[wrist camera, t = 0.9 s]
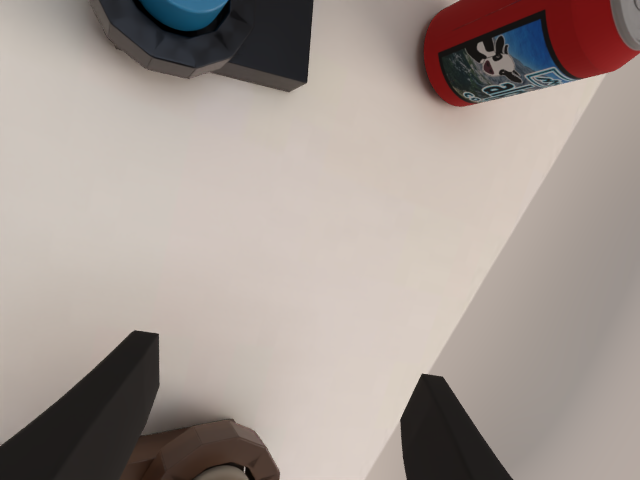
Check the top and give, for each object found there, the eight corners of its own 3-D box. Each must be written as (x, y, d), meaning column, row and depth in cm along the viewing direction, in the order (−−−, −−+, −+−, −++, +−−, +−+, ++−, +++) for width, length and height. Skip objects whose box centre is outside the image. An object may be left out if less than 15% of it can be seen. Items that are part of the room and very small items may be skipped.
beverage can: (412, 102, 28) (604, 47, 18) (417, -1, 27) (618, -120, 17) (478, 114, 31) (671, 74, 21) (483, 23, 31) (685, -64, 20)
